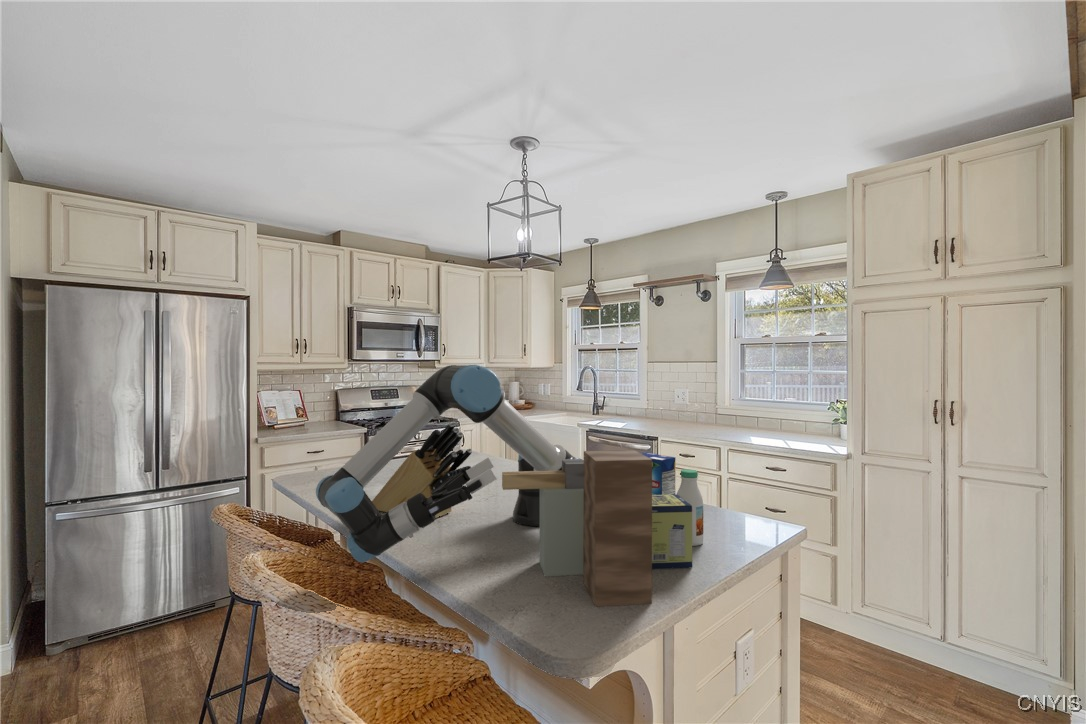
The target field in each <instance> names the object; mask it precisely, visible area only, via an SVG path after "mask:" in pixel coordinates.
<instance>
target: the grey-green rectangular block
mask: <svg viewBox="0 0 1086 724" xmlns="http://www.w3.org/2000/svg"><path fill="white" fill-rule="evenodd" d="M583 543H584V489H566V488H545V489H540V526H539V558H538V559H539V560H538V561H539V564H540V568H541V570H542V573H543V576H544V577H545V576H546V577H559V576H560V577H562V575H563V576H579V575H580V576H581V575H582V576H583ZM546 577H545V578H546Z"/></svg>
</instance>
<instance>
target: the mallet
mask: <svg viewBox="0 0 1086 724" xmlns="http://www.w3.org/2000/svg"><path fill="white" fill-rule="evenodd" d="M583 460H584V459H582V458H580V459H562V470H558V471H519V472H518V471H501V472H502V473H501V474H502V475H501V485H502V486H501V487H502V490H503V491H505V490H507V491H509V490H511V491H512V490H519V489H545V488H566V489H584V461H583Z"/></svg>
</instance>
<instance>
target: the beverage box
mask: <svg viewBox="0 0 1086 724" xmlns="http://www.w3.org/2000/svg"><path fill="white" fill-rule="evenodd" d="M640 453H641V452H640ZM641 454H643V455H644V456H646V457H648V458H650V459H652V495H674V494H675V495H676V471H677V470H676V463H677V462H676V460H677V459H676V457H674V456H670V455H669V456H668V455H662V454H658V453H652V452H642V453H641Z"/></svg>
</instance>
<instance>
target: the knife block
mask: <svg viewBox="0 0 1086 724" xmlns="http://www.w3.org/2000/svg"><path fill="white" fill-rule="evenodd" d="M463 436H464V433H463V432H462V431H460V428H458V427H456V423H455V421H451V422H449V423H448V424H447V426H446V427H445V428H444V429H443V430H442V431H440V430H439V429H435V430H433V431H432V433H431V434H430V435H428V437H427V438H426V439H425V441H424V442H423V444H422V445H421V447H420V449H419V448H418V449H416V450H414V451H412V452H411V453H410V454H409V455H408V456H407V458H405V460H404V461H403V462H402V463H401V464H400V465H399V467H398V468H397V470H396V471H395V472H394V473H393V474H392V476H391V477H390V478H389V479H388V481H387V482H386V484H385V483H384V485H383V487H382V488H381V489H380V490H379V491H378V493H377V494H376V496H375V497H374V498H373V499H372V500H371V501H372V503H373V504H374V505H375V507H376V508H377V509H378V510H379V512H384V513H386V512H388V511H389V510H391V509H393V508H394V507H396V506H398V505H399V504H401V503H403V502H406V503H407V501H408V499H410V498H412V497H413V496H415V495H417V494H418V493H422V494H423V495H424V496H425V497H426V498H429V497H430V496H431V495H432V494H431V493H432V491H435V490H436V489H438V488H439V487H441V486H442V485H444V484H445V483H446V482H448V481H449V480H451V479H452V478H454V477H455V476H456V475H458V474H459V473H461V470H462V469H465V470H468V469H470V468H471V466H470V465H467V466H463V467H460V466H461V465H462V464H463V463H464V462H465V461H467V459H469V457H470V456H471V454H472V453H473V450H472V449H471V448H468V449H466V450H465V451H464V450H463V449H459V450H457V451H455V450H454V449H455V447H456V446H457V445H458V444H459V443H460V442H461V440H462V438H463ZM459 467H460V468H459ZM451 512H452V507H450V508H448V509H446V510H444V511H442V512H440V513H438V514H436V515H435V519H437V518H439V516H440V517H442V516H445V515H447V513H448V514H449V513H451Z"/></svg>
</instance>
